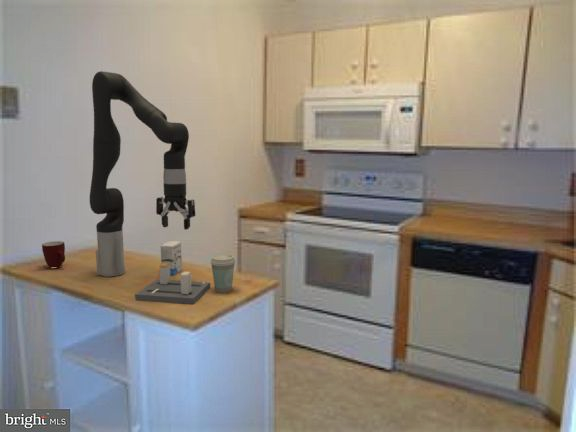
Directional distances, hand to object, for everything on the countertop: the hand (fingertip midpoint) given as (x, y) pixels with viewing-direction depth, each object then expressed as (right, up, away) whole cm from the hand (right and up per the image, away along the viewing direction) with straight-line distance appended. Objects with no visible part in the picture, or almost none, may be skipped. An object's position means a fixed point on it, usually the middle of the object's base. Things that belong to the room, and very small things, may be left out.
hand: (176, 228), depth 155 cm
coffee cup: (+17, -22, 0) cm, 28 cm away
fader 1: (-4, -19, 0) cm, 20 cm away
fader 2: (+6, -21, -9) cm, 24 cm away
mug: (-54, -17, +25) cm, 62 cm away
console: (0, -22, -4) cm, 23 cm away
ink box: (-7, -18, +20) cm, 28 cm away
